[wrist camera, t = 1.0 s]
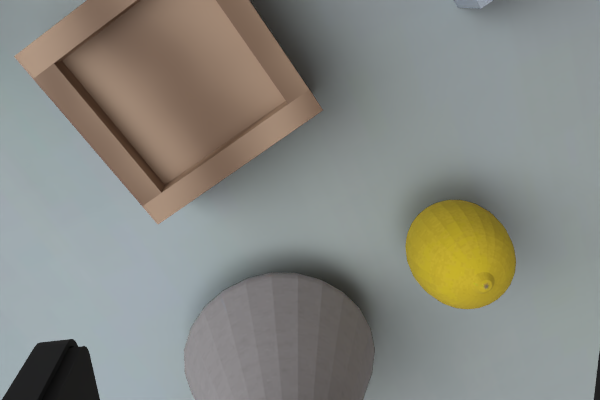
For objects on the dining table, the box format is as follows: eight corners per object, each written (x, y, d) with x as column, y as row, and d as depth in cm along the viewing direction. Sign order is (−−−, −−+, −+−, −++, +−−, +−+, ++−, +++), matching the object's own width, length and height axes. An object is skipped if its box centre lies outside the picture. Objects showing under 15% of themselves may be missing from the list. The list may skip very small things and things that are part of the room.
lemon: (467, 269, 36) (523, 340, 29) (383, 260, 36) (418, 330, 28) (489, 188, 35) (555, 241, 27) (402, 176, 34) (445, 227, 26)
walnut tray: (203, -69, 29) (193, -82, 24) (312, 93, 32) (322, 110, 27) (52, 46, 30) (14, 56, 25) (171, 191, 33) (157, 224, 29)
